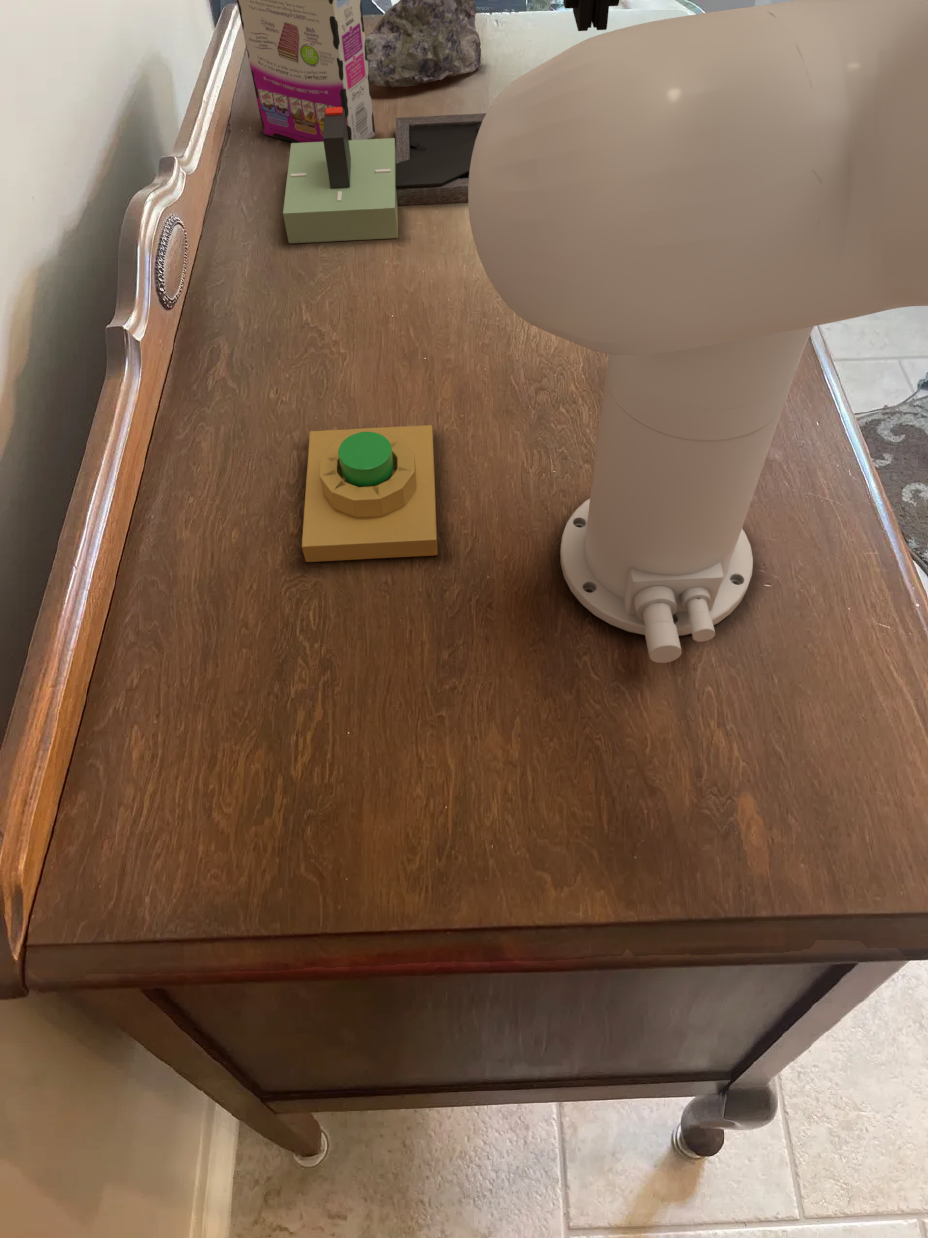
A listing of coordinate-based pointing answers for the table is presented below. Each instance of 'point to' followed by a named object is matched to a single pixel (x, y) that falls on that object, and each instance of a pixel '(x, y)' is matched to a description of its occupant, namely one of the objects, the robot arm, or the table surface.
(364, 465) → the button
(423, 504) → the switch block
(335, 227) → the dimmer panel
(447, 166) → the picture frame
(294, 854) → the table surface
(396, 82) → the mineral rock
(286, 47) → the candy bar box
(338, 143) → the dimmer knob
